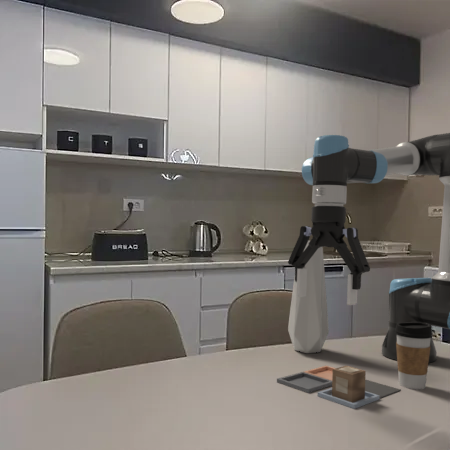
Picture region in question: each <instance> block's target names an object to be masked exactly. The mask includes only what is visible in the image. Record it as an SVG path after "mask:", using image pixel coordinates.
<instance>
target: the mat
mask: <svg viewBox="0 0 450 450" xmlns="http://www.w3.org/2000/svg"><path fill="white" fill-rule="evenodd" d="M365 391H367V392H370V393H373V394H376V395H379V400H380V399H382V398H386V397H388V396H390V395H393V394H395V393H398V392H401V389H400V388H396V387H393V386H390V385H386V384H383V383H380V382H376V381H372V380H369V379H365Z"/></svg>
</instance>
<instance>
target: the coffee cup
mask: <svg viewBox="0 0 450 450" xmlns="http://www.w3.org/2000/svg"><path fill="white" fill-rule="evenodd" d="M395 334H396V335H397V342H396V348H397V360H396V363H397V370H398V372H397V374H398V385H399V386H401V387H403V388H404V389H405V388H406V389H410V390H411V389H412V390H423V389H424V390H425V389H426V383H427V377H428V375H427V374H428V370H429V369H428V368H429V363H430V362H429V355H430V347H431V346H430V339H431V338H433V334H434V333H433V326H432V325H431V324H428V323H421V322H405V323H397V324H396V329H395Z"/></svg>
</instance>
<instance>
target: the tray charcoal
mask: <svg viewBox="0 0 450 450" xmlns="http://www.w3.org/2000/svg"><path fill="white" fill-rule="evenodd" d="M276 383H278V384H281V385H284V386H287V387H289V388H293V389H296V390H298V391H301V392H304V393H306V394H309V393H313V392H316V391H319V390H323V389H325V388H328V387H332V381H331V380H328V379H324V378H321V377H318V376H315V375H311V374H308V373H305V372H304V371H300V372H297V373H293V374H289V375H286V376H282V377H278V378H276Z"/></svg>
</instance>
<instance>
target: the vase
mask: <svg viewBox="0 0 450 450" xmlns="http://www.w3.org/2000/svg"><path fill="white" fill-rule="evenodd" d="M310 241H311V240H308V242H307V245H306V247H305V249H306V248H307V247H308V245H309V242H310ZM305 249H304V250H305ZM303 252H304V251H303ZM324 263H325V262H324V247H320V248H318V249H317V251H316V252H315V253H314V255H313V256H312V257H311V258H310V260H309V261H308V262H307V264H306V265H305V266H304V267H305V268H306V269H307V287H306V296H304V297H296V294H297V282H295V275H294V277H293V284H292V285H293V287H292V294H291V302H290V308H289V316H288V317H289V318H288V327H287V330H288V334H289V338H290V341H291V344H292V346H293V350H294V351H295V352H296V351H297V352H299V351H300V353H305V354H314V353H316V352H317V353H321V352H322V349H323V346H324V345H325V343H326V341H327V337H328V335H329V331H330V329H329V317H328V302H327V287H326V277H325V276H326V275H325V274H326V273H325V264H324ZM317 353H316V354H317Z"/></svg>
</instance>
